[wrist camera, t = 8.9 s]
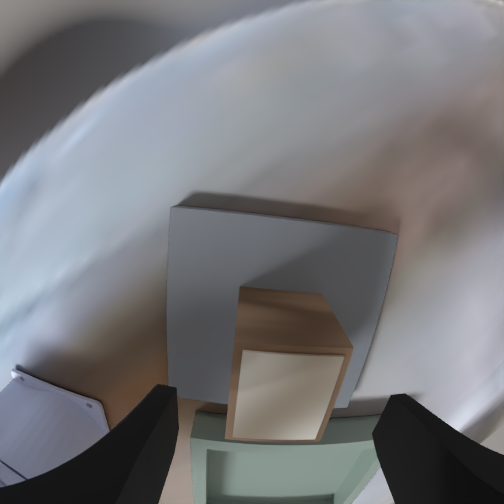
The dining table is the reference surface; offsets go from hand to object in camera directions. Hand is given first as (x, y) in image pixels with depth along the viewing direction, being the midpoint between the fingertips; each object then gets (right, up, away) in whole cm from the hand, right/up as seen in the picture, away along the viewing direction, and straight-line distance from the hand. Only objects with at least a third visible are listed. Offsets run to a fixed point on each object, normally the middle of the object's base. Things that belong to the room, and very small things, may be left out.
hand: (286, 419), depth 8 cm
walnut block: (0, +1, +6) cm, 6 cm away
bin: (+1, -13, +11) cm, 16 cm away
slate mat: (0, +2, +7) cm, 7 cm away
